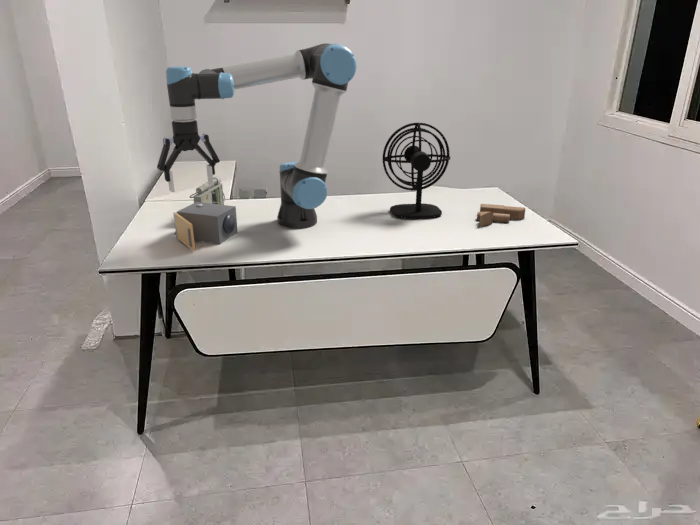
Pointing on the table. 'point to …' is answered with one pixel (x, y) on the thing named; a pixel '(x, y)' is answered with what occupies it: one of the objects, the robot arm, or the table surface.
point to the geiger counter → (210, 193)
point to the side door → (184, 231)
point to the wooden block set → (499, 214)
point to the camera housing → (211, 221)
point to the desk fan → (419, 163)
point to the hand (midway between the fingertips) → (191, 188)
